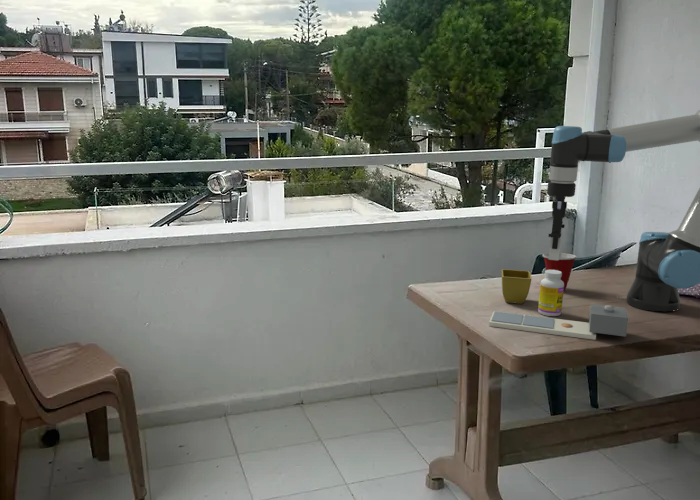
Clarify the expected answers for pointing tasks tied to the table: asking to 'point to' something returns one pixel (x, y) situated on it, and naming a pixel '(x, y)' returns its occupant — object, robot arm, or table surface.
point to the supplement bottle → (551, 293)
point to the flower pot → (515, 285)
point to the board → (541, 325)
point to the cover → (608, 320)
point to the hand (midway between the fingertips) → (554, 254)
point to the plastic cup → (561, 265)
